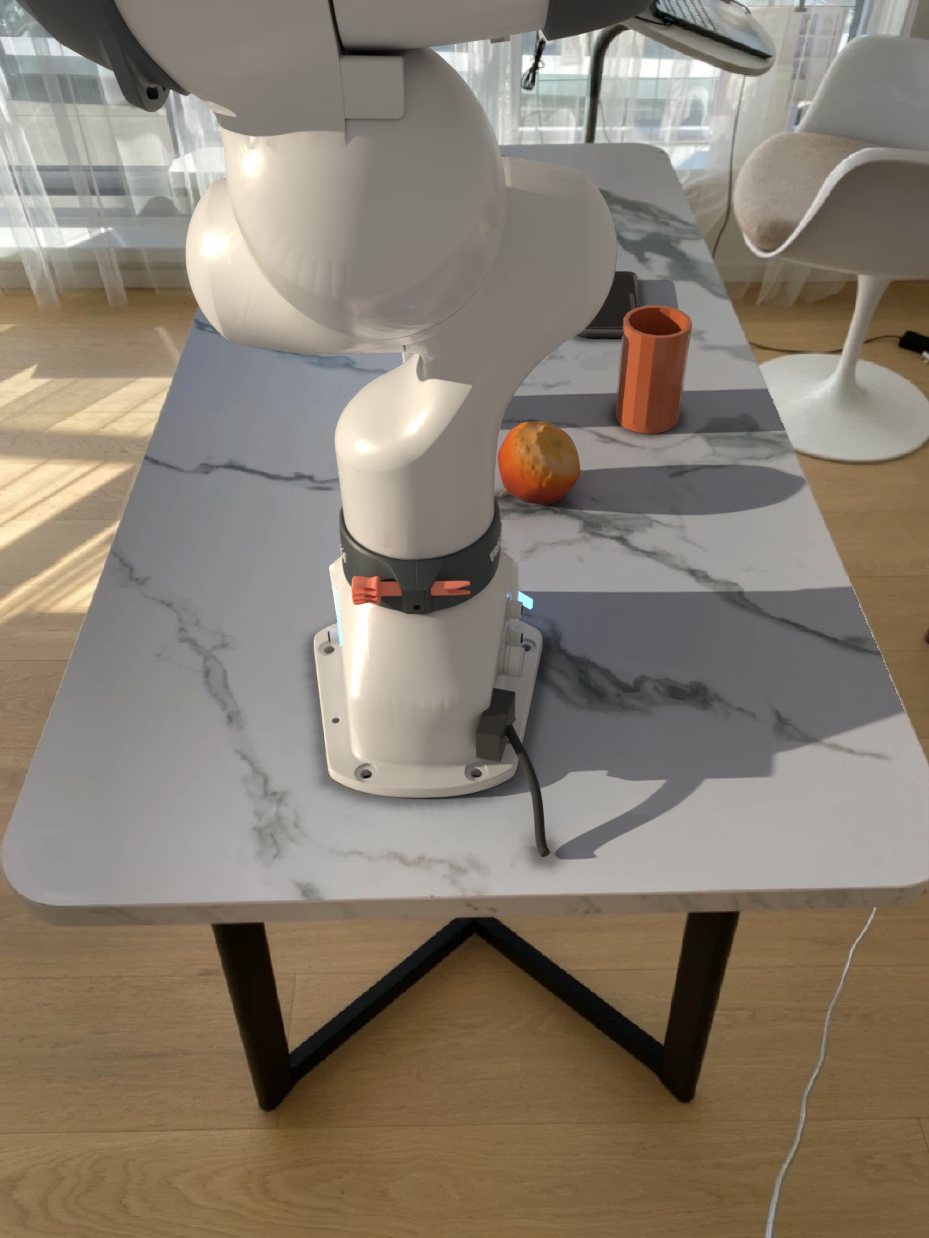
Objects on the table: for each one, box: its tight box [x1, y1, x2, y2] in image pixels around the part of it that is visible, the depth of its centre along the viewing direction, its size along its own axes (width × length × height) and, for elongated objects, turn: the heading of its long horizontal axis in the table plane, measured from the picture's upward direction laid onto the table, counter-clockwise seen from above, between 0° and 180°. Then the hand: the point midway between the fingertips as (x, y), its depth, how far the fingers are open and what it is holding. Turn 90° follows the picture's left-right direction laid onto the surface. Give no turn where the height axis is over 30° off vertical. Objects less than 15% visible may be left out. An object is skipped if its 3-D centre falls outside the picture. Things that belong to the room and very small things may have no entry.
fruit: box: [497, 421, 581, 507], centre depth 100 cm, size 8×8×8 cm
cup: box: [615, 304, 693, 435], centre depth 107 cm, size 7×7×11 cm
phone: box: [577, 270, 642, 339], centre depth 128 cm, size 8×1×15 cm
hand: (436, 50), depth 78 cm, fingers open, 8 cm apart
